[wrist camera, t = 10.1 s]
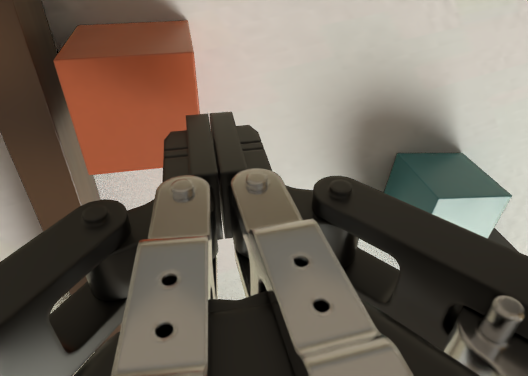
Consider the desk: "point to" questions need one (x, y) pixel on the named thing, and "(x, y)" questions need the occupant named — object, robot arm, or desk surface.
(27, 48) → the rail
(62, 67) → the block terracotta
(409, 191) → the block teal
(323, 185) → the robot arm
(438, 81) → the desk surface
